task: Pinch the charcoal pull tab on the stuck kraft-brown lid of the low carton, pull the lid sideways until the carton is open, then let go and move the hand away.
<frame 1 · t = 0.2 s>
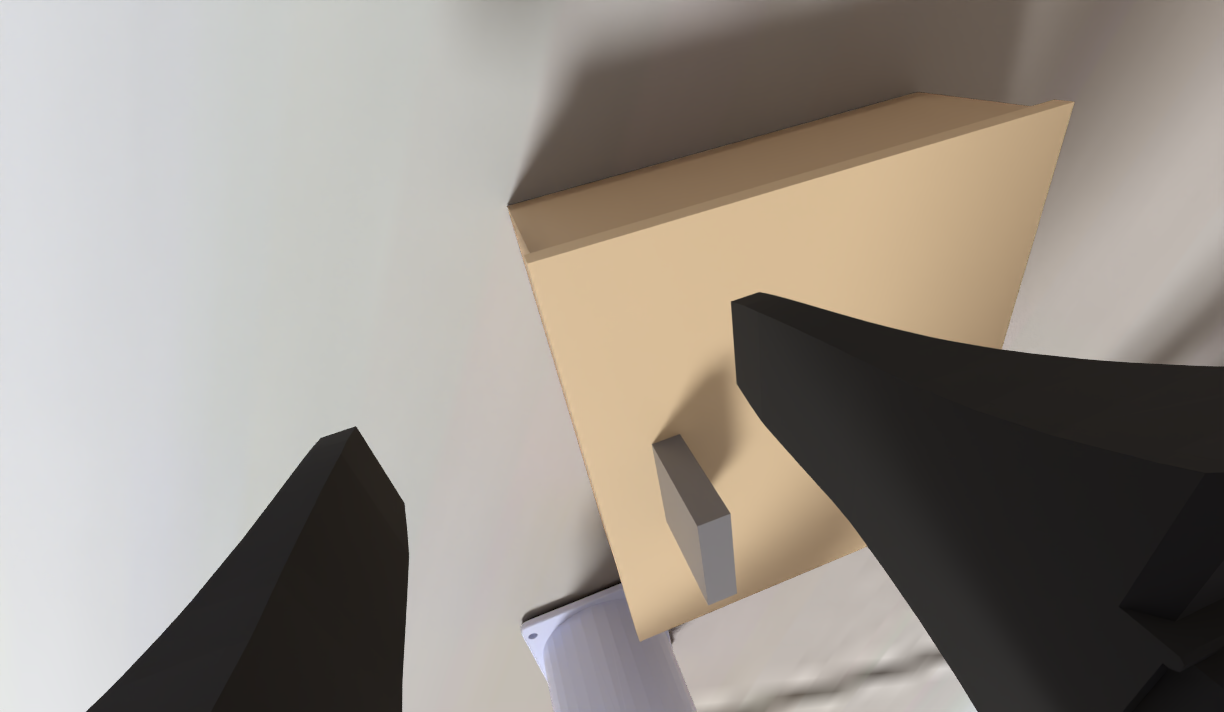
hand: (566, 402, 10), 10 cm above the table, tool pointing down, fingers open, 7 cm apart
carton: (736, 350, 24), on the table
carton lid: (837, 454, 18), point 7 cm above the table, slide at 0.0 cm
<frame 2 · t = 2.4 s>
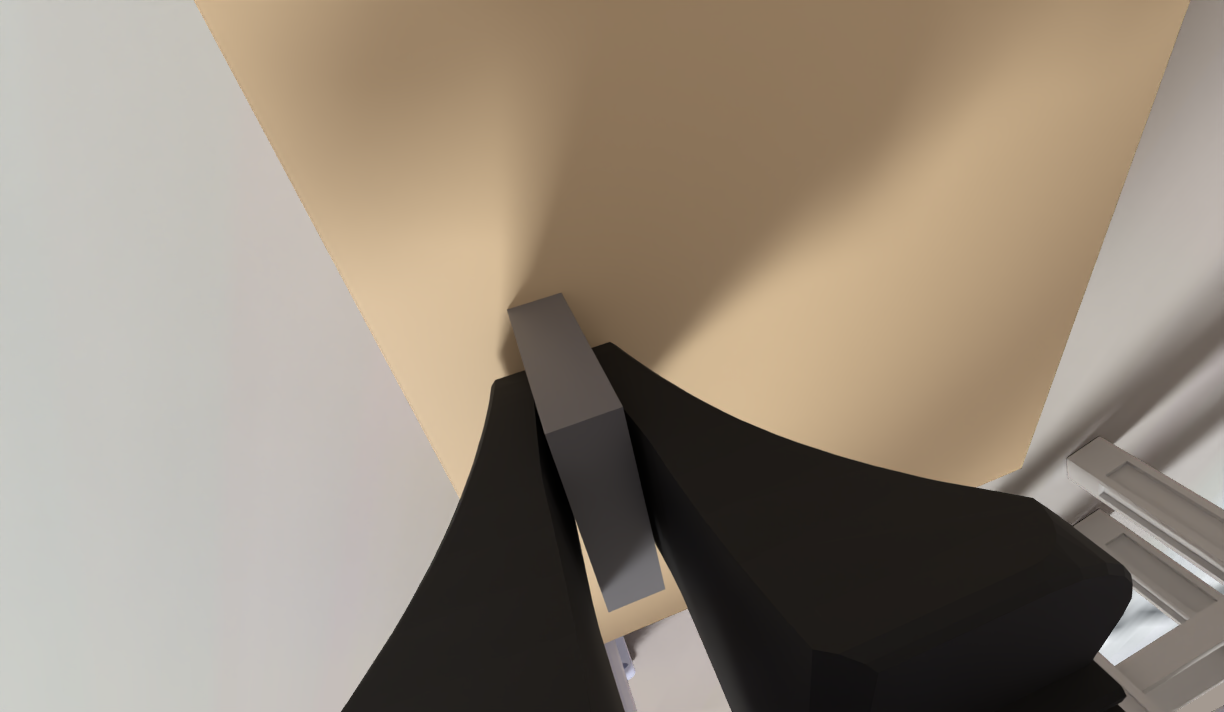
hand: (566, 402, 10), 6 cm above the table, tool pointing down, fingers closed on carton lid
stool: (1019, 533, 34), on the table
carton lid: (854, 336, 10), point 7 cm above the table, slide at 0.0 cm, touching gripper
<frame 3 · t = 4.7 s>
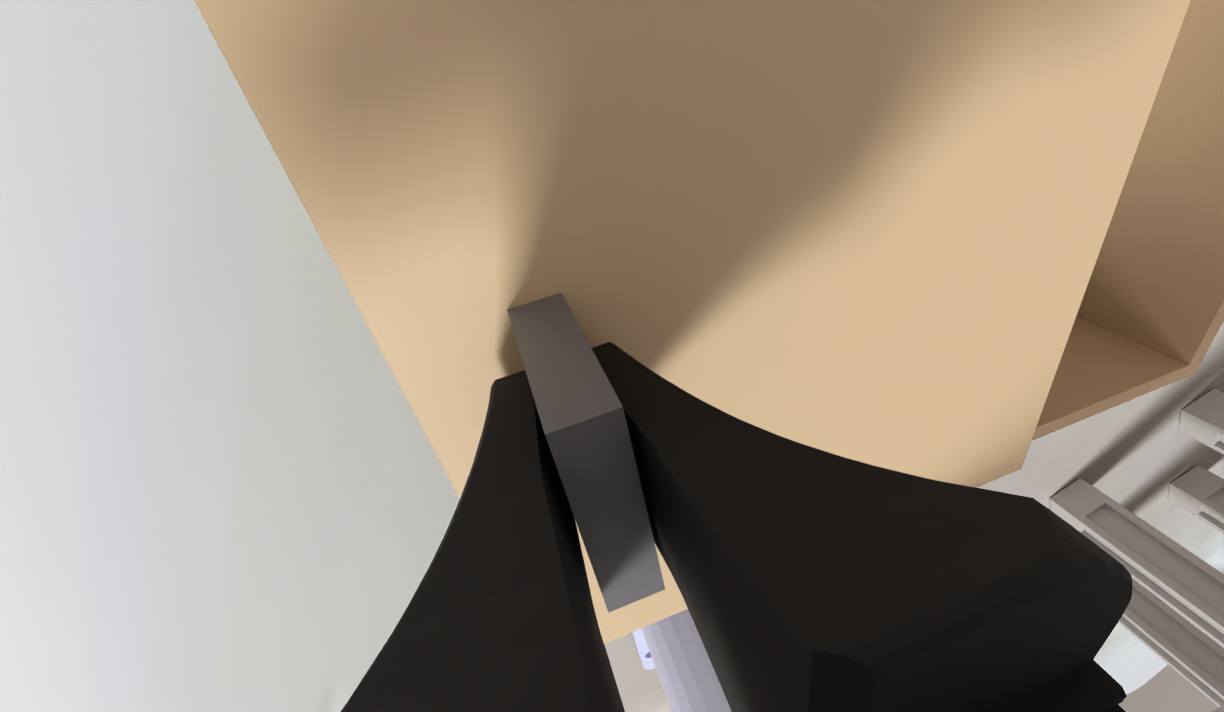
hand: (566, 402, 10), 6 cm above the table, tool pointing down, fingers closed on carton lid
stool: (1124, 487, 35), on the table
carton: (936, 151, 17), on the table
carton lid: (854, 336, 10), point 7 cm above the table, slide at 8.5 cm, touching gripper
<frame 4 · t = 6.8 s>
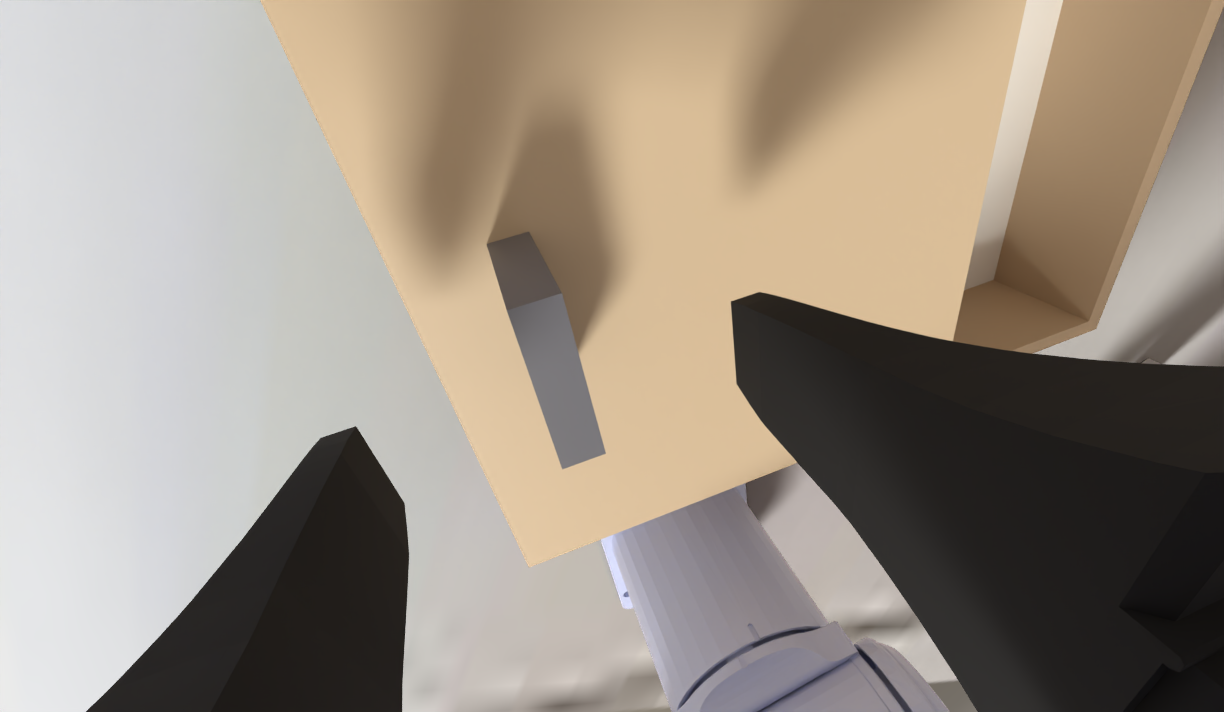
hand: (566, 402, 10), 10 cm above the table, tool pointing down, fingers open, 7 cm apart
carton: (864, 133, 20), on the table
carton lid: (760, 269, 13), point 7 cm above the table, slide at 8.5 cm
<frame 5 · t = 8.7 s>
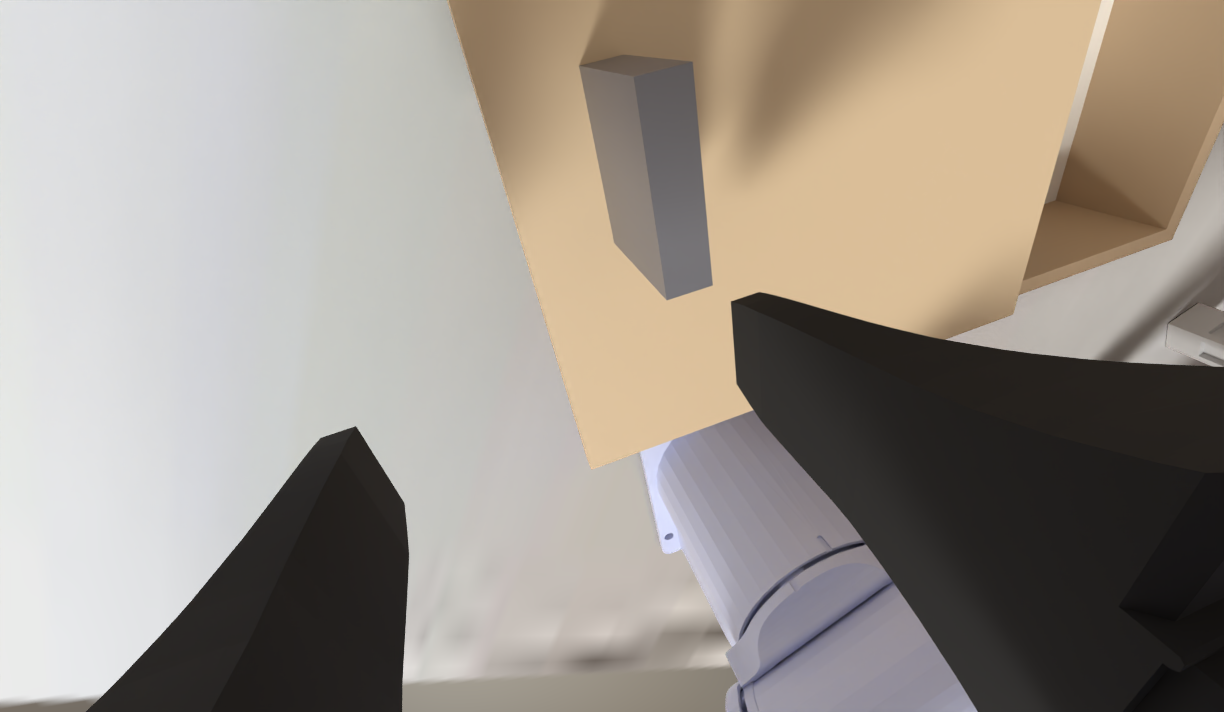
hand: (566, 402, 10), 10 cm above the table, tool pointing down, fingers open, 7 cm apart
stool: (1115, 405, 37), on the table
carton: (936, 24, 19), on the table
carton lid: (867, 104, 12), point 7 cm above the table, slide at 8.5 cm
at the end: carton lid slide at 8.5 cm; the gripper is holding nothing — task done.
